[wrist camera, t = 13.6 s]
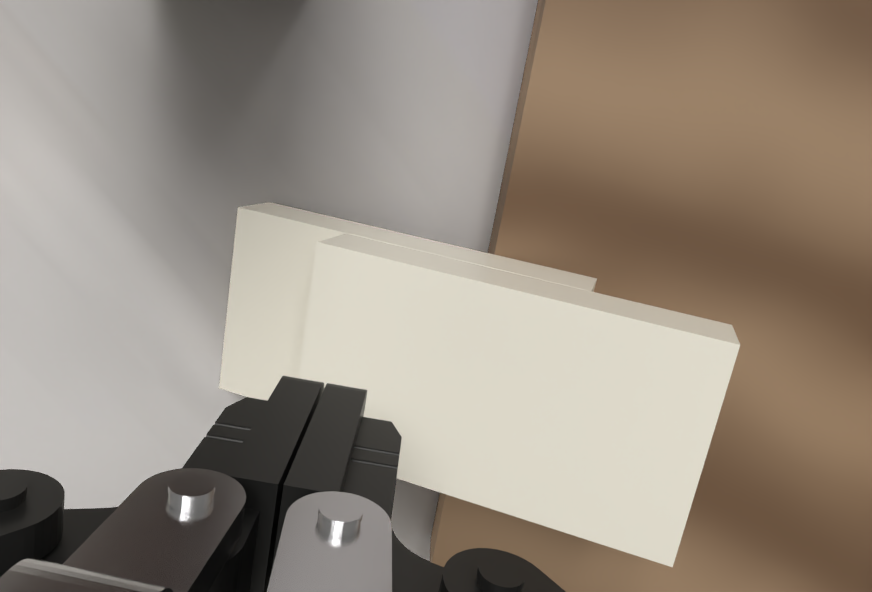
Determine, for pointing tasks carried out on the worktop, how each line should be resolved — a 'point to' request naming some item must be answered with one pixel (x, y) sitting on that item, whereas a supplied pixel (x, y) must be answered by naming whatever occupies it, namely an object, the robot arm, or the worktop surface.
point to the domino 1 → (307, 288)
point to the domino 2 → (524, 388)
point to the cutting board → (712, 266)
